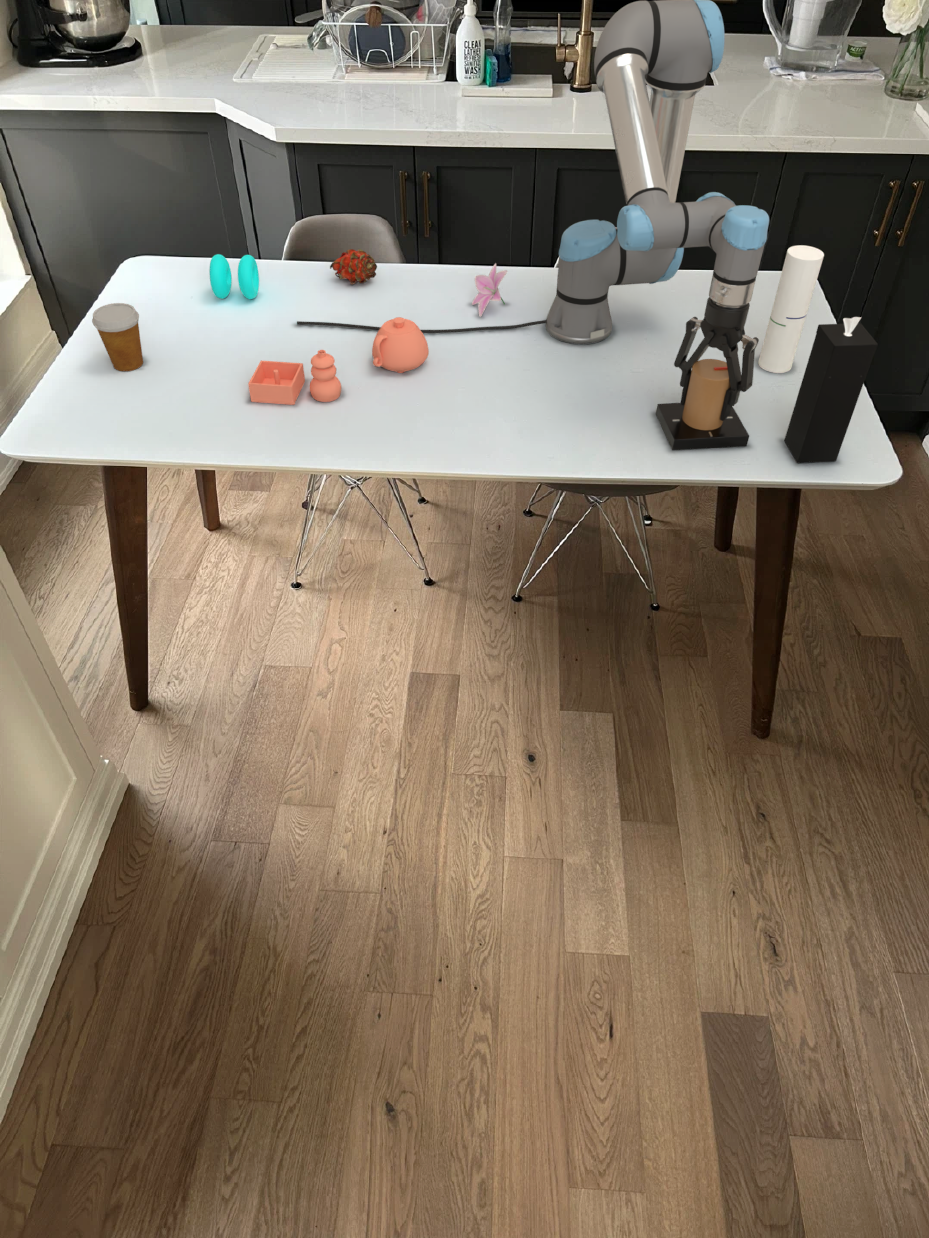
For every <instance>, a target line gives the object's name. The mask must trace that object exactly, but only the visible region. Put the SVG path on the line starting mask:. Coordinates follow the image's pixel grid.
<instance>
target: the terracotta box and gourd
mask: <svg viewBox="0 0 929 1238" xmlns="http://www.w3.org/2000/svg"><path fill="white" fill-rule="evenodd" d="M335 363H336V362H335V358H334V356H333V355H332V354H330V353H328V352H327V351H326V350H325V349H319V350H317V353H316V354H314V355H313V356H312V357H311V358H310V365H311V368H310V374H311V376H312V377H313V378H312V379H311V381H310V383H309V391H310V392H309V393H310V394H311V397H312V398H313V400H315V401H317V402H321V403H330V402H334V401H336V400H337V399H339V398H340V397H341V393H342V383H341V381H340V378H338V377H337V376H336V374H337V367H336V365H335ZM305 382H306V378H305V370H304V363H303V362H289V361H275V360H274V361H273V360H260V361H259V362H258V365H257V366H256V369H255V371H253V374H252V375H251V377H250V379H249V382H248V384H247V385H248V391H249V397H250V402H251V403H260V404H261V403H262V404H275V405H276V404H277V405H290V406H295V404H296V402H297V400H298V398H299V396H300V393H301V391H302V389H303V388H304V385H305Z"/></svg>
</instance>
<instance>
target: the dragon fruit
mask: <svg viewBox="0 0 929 1238" xmlns="http://www.w3.org/2000/svg"><path fill="white" fill-rule="evenodd" d="M329 269H330V270H331V269H332V270H333V271H335V272H334V275H335V276H336V277H337V278H338V279H339V280H347V281H348V282H349V284H350V285H352V286H353V285H355V284H357V283H358V282H359V283H360V284H364V283H366V282H367V280H371V279H373V278H375V277H376V276H377V273H376V271H377V269H378V265H377V263H376V261H375V259H374V258H373V256H372V255H370V254H367V252H366V251H364V250H362V249H361V248H358V249H357V250H356V249H353V248H350V249H347V250H346V251H345V252H344V251H343V252H341V255H340V257H338V258H336V259H335V260H334V261H333V262H331V264H330V265H329Z"/></svg>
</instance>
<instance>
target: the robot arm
mask: <svg viewBox="0 0 929 1238" xmlns="http://www.w3.org/2000/svg"><path fill="white" fill-rule="evenodd" d="M725 37H726V36H725V25H724V19H723V16H722V12H721V10H720V8H719V6H718V5H717V4H716V3H715V2H714V1H712V0H636V1H633V2H630V3H628V4H626V5H624V6H623V7H621V8H620V9H618V11H616V12H615V13H614V14H613V15H612V16H611V17H610V19H609V20H608V21H607V23H606V24H605V25H604V28H603V29H602V31H601V33H600V35H599V38H598V40H597V44H596V48H595V53H594V61H593V62H594V63H593V69H594V77H595V82H596V87H597V89H598V90H599V91H600V92H601V93H602V94H604V98H605V103H606V108H607V114H608V119H609V124H610V129H611V134H612V140H613V145H614V150H615V155H616V159H617V165H618V169H619V175H620V180H621V187H622V189H623V196H624V201H625V205H624V206H623V207H622V208H621V209H620V210H619V212H618V216H617V219H616V226H615V225H614V224H613V223H612V222H610V221H607V220H605V219H603V220H599V219H586V220H582V221H578V222H575V223H573V224H572V225H569V226H568V227H567V228H566V229H565V230H564V231H563V233H562V234H561V240H560V246H559V249H558V267H557V280H556V281H557V282H556V293H555V296H554V299H553V301H552V303H551V306H550V309H549V311H548V313H547V316H546V318H545V319H543V320H537V321H529V322H525V323H520V324H512V325H511V324H510V325H499V326H497V325H495V326H478V327H477V326H476V327H465V328H451V329H450V328H448V329H420V330H421V332H422V333H423V334H447V333H448V334H450V333H467V332H476V331H477V332H478V331H494V330H512V329H520V328H524V327H530V326H531V327H532V326H537V325H544V324H545V330H546V332H547V334H549V335H550V337H552V338H554V339H556V340H558V341H560V342H563V343H566V344H567V343H568V344H574V345H590V344H595V343H600V342H602V341H604V340H606V339H607V338H608V337H610V335H611V334H612V327H613V319H612V314H611V310H610V304H609V299H608V297H609V290H610V287H612V286H626V285H629V286H630V285H642V284H648V285H653V284H656V283H662V282H667V281H669V280H671V279H673V277H675V276H676V274H677V272H678V271H679V269H680V267H681V264H682V261H683V257H684V252H685V249H686V248H688V249H689V248H701V247H709V248H710V249H711V250H712V251H713V252H714V253H715V254H716V255H715V262H714V266H713V271H712V276H711V281H710V286H709V290H708V296H709V297H708V298H707V300H706V305H705V310H704V315H703V316H704V317H703V319H699V318H698V317H697V316H692V318H690V319H689V320H688V321H686V323H685V333H684V336H683V339H682V342H681V344H680V346H679V349H678V352H677V355H676V357H675V360H674V362H673V366H674V367H675V368H679V369H680V370H681V375H680V381H679V386H680V387H681V388H682V392H681V397H680V402H679V403H680V404H681V405H684V404H685V400H686V395H687V390H688V386H689V381H690V376H691V371H692V366H693V364H694V363H696V362H697V361H699V360H701V358H702V356H703V355H704V354H705V352H706V351H707V349H709V347H710V348H713V349H717V350H719V352H722V355H723V357H724V358H725V362H726V363H727V369H728V374H729V380H730V386H731V387H730V388H729V389H727V391H726V395H725V399H724V404H723V408H722V412H721V416H720V420H722V421H724V420H725V419H726V418H727V417H728V416H729V415H730V412H731V408H732V407H734V406H735V405H736V404H737V403H738V402H739V398H740V394H741V392H742V393H746V392H747V391H748V390H749V389H751V387H753V382H754V381H753V380H754V367H755V355H756V349H757V346H758V344H759V341H760V340H759V338H758V337H757V336H754V337H751V336H749V335H747V334H746V331H745V330H746V329H745V325H746V322H747V320H748V319H747V318H748V315H749V310H750V307H751V306H750V302H752V298H753V294H754V289H755V286H756V285H755V284H756V280H757V276H758V272H759V268H760V265H761V262H762V261H761V260H762V258H763V254H764V249H765V245H766V242H767V240H768V230H769V225H770V216H769V214H768V213H767V211H766V210H765V209H762V208H758V207H757V206H754V205H745V204H744V205H743V204H742V205H741V204H740V205H736V204H735V202H734V201H733V200H731V199H730V198H729V197H727V196H725V194H723V193H721V192H718V191H717V192H716V191H710V192H708V193H705V194H704V195H702V196H700V197H698V199H697V200H696V201H684V202H680V201H679V202H676V201H677V194H678V189H679V184H680V180H681V179H680V178H681V173H682V168H683V163H684V157H685V151H686V146H687V142H688V135H689V130H690V125H691V120H692V114H693V109H694V104H695V98H696V95H697V94H698V93H699V92H700V91H701V90H703V89H704V88H705V86H706V81H707V76H708V73H709V74H713V73H714V72H716V71H717V70H718V69H719V67H720V65H721V63H722V60H723V58H724V53H725ZM647 86H648V88H649V89H650V96H649V92H648V88H647ZM296 325H297V326H301V325H302V326H327V327H341V328H351V329H362V330H372V331H379V329H380V328H381V326H373V325H363V324H351V323H341V322H328V321H298V320H297V321H296ZM699 330H701V332H702V336H703V338H702V340H701V342H700V343H699V344H698V347H697V348H696V349H695V351H693V353H692V354H691V355H690V357H689V359H688V356H689V353H690V351H691V348H692V345H693V344H694V341H695V338H696V335H697V333H698V331H699ZM740 342H741V343H742V350H743V351H742V360H741V365H740V360H739V354H738V353H739V345H738V344H739V343H740Z"/></svg>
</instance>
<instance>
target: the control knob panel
mask: <svg viewBox="0 0 929 1238" xmlns="http://www.w3.org/2000/svg"><path fill="white" fill-rule="evenodd" d="M684 405H685V404H684ZM684 405H681V404H680V402H670V403H669V402H668V403H667V402H666V403H657V404H656V410H655V416H656V418H657V421H658V422H659V425H660V427H661V429H662V431H663V434H664V436H665V439H666V440H667V442H668V445H669V446H670V449H671V451H688V450H705V449H706V450H708V449H723V448H743V447H744V448H745V447H747V446H748V442H749V439H750V434H749V433H748V431H747V429H746V427H745V425H744V424H743V422H742V420H741V419H740V417H739V415H738V413H737V412H736V410H735V408H734V406H732V408H731V412H730V415H729V416H728V417H727V418H726V419H725V420H724V421H723V424H722V425H721V426H720V427H719V428H717V429H714V430H699V429H695V428H692V427H690V426H688V425H687V424H686V423H685V422H684V421H683V419H682V415H683V410H684Z"/></svg>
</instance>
